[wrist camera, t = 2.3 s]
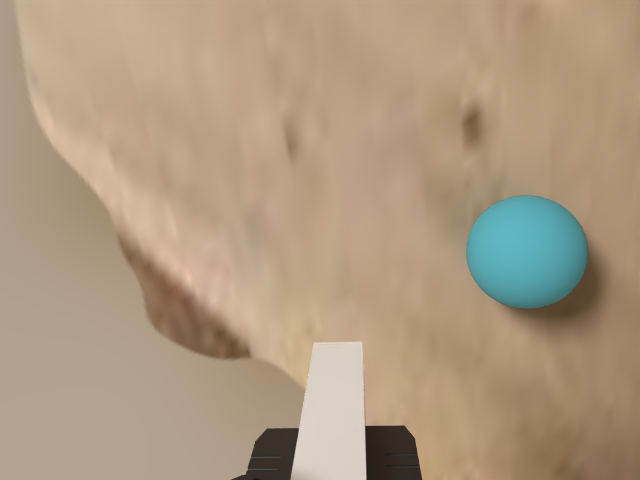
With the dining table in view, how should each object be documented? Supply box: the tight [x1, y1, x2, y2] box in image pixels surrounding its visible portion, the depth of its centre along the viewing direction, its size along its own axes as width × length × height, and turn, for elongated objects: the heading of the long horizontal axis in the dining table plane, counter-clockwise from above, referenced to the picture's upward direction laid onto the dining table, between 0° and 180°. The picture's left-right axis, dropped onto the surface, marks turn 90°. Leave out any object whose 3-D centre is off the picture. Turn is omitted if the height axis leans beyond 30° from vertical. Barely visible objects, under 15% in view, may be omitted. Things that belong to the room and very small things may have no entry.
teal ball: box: [466, 196, 588, 309], centre depth 28 cm, size 6×6×6 cm
